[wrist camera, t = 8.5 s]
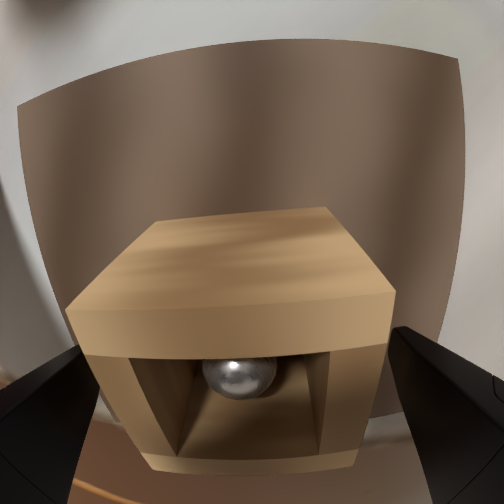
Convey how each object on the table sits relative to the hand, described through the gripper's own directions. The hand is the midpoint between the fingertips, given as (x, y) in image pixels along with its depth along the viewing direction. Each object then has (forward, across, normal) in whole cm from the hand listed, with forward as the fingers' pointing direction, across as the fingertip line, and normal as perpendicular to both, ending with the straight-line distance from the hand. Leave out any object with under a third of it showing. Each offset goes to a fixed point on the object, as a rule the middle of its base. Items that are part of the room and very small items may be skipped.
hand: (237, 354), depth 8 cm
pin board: (+5, 0, 0) cm, 5 cm away
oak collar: (+4, 0, 0) cm, 4 cm away
